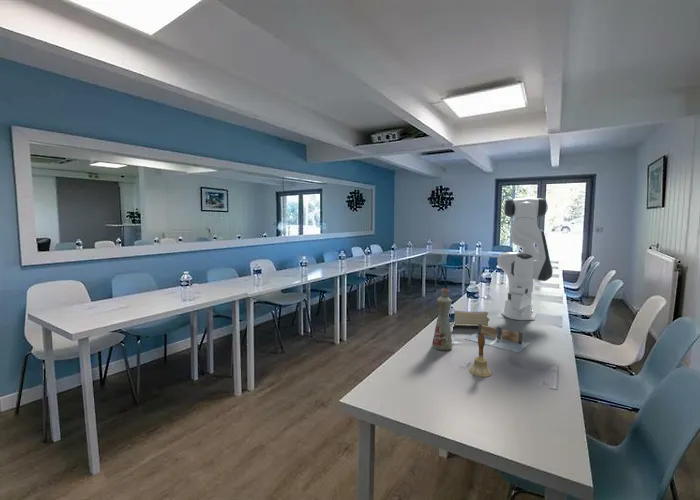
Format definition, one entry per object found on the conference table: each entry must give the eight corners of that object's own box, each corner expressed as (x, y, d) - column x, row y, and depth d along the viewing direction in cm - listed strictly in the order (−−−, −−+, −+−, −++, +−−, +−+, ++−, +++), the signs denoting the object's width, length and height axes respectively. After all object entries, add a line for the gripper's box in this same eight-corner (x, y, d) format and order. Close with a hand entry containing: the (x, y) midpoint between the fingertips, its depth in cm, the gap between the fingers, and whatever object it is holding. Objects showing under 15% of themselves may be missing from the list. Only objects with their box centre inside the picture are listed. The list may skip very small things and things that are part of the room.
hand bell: (477, 378, 136) (479, 337, 134) (464, 369, 144) (466, 330, 142) (496, 375, 138) (498, 335, 136) (482, 366, 146) (484, 328, 144)
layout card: (477, 331, 188) (477, 331, 188) (528, 343, 172) (528, 343, 172) (465, 339, 177) (465, 338, 177) (518, 352, 161) (518, 352, 161)
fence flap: (501, 339, 176) (501, 328, 176) (502, 338, 178) (502, 328, 177) (521, 344, 170) (522, 333, 170) (522, 343, 172) (523, 332, 171)
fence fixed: (478, 333, 186) (479, 322, 185) (501, 338, 178) (501, 327, 178) (477, 334, 184) (478, 323, 184) (499, 339, 177) (500, 327, 176)
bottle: (453, 352, 161) (455, 290, 158) (432, 350, 162) (434, 289, 159) (451, 345, 169) (454, 286, 166) (431, 343, 171) (433, 285, 168)
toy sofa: (484, 325, 200) (485, 307, 199) (489, 330, 192) (490, 311, 191) (446, 324, 202) (446, 306, 200) (449, 329, 193) (449, 310, 192)
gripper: (522, 284, 184) (520, 310, 185) (509, 289, 169) (507, 318, 170) (535, 285, 180) (534, 312, 181) (523, 291, 165) (521, 321, 166)
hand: (521, 315), depth 176 cm, fingers closed
